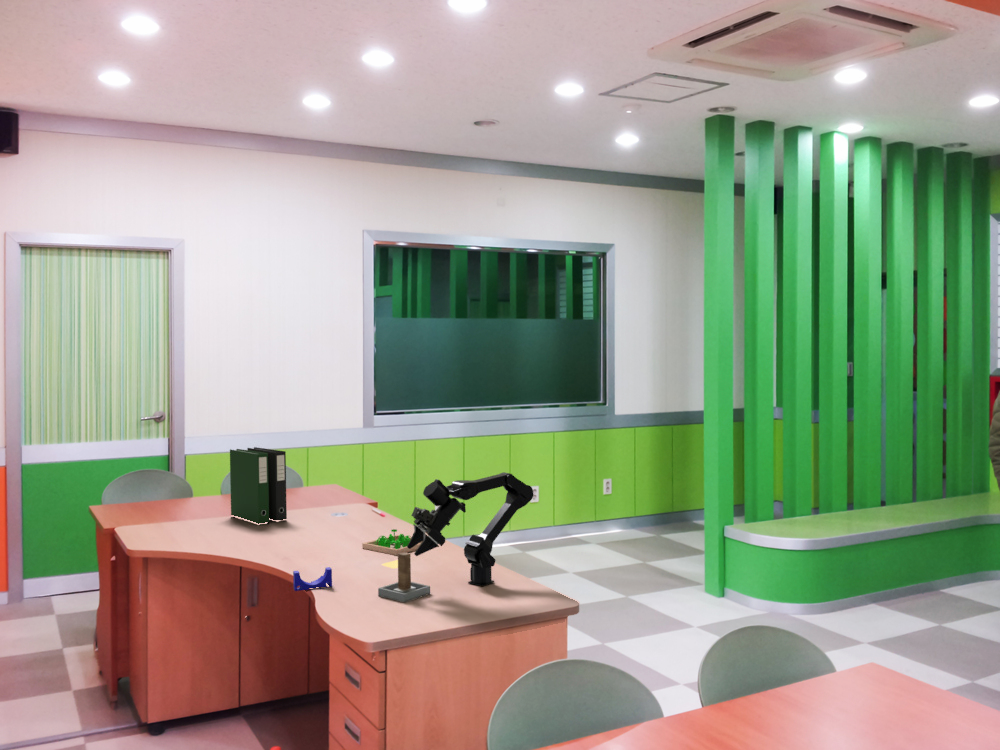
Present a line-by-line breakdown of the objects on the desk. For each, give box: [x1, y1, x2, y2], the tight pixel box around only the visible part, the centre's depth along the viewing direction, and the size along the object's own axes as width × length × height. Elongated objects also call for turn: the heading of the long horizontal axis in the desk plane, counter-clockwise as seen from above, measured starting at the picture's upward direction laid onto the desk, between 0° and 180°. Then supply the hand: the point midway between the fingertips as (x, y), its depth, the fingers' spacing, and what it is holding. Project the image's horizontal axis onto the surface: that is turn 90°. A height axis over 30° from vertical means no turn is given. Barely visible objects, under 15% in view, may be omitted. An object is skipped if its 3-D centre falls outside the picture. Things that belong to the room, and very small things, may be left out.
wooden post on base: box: [393, 552, 416, 593], centre depth 270 cm, size 6×4×12 cm, turn 140°
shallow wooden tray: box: [361, 534, 422, 556], centre depth 335 cm, size 19×19×2 cm
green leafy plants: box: [375, 528, 412, 549], centre depth 336 cm, size 15×15×7 cm
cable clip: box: [292, 567, 333, 592], centre depth 280 cm, size 12×4×6 cm, turn 112°
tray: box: [377, 581, 431, 603], centre depth 270 cm, size 12×12×2 cm
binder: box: [229, 446, 288, 524], centre depth 394 cm, size 27×15×32 cm, turn 45°
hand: (411, 551), depth 271 cm, fingers open, 9 cm apart
